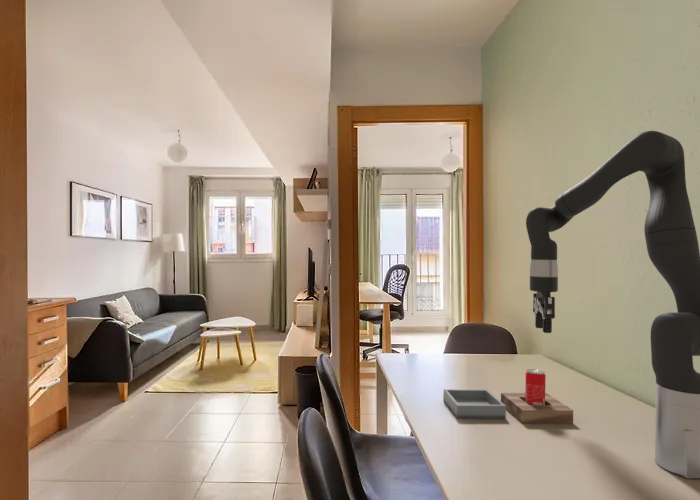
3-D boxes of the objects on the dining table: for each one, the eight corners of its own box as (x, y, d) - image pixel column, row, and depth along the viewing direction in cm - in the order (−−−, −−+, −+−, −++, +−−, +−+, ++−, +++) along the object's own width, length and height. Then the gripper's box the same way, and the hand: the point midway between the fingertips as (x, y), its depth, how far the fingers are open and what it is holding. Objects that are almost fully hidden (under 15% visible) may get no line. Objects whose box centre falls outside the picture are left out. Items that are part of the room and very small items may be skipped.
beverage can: (524, 414, 116) (525, 372, 116) (525, 408, 121) (526, 367, 121) (544, 418, 114) (545, 375, 114) (545, 412, 118) (545, 370, 119)
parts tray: (505, 418, 113) (505, 405, 113) (457, 418, 112) (457, 405, 113) (486, 400, 127) (487, 389, 127) (443, 400, 126) (443, 389, 126)
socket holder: (573, 423, 111) (573, 410, 111) (522, 423, 110) (522, 410, 110) (545, 404, 125) (546, 392, 125) (500, 404, 124) (501, 392, 124)
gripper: (565, 276, 113) (564, 335, 113) (550, 274, 127) (549, 327, 127) (536, 275, 115) (535, 333, 115) (524, 274, 129) (524, 325, 128)
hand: (543, 330), depth 121 cm, fingers open, 8 cm apart
